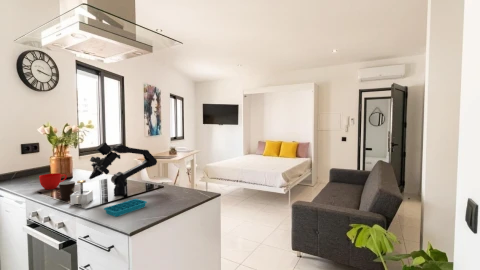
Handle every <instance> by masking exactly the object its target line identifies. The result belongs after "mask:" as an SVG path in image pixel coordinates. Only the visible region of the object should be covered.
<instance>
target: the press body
mask: <svg viewBox="0 0 480 270" xmlns="http://www.w3.org/2000/svg"><path fill="white" fill-rule="evenodd" d="M87 191H90V192H88V193H87V194H77V195H74V194H76V193H77V192H81V190H76V191H74V193H73V194H71V195H70V199H69V200H70V206H75V205H74V204H81V205H88V204H89V203H91V202H92V201H93V199H94V191H93V189H91V190H88V189H87V190H83V192H87ZM90 201H91V202H90Z"/></svg>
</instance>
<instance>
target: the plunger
mask: <svg viewBox="0 0 480 270" xmlns="http://www.w3.org/2000/svg"><path fill="white" fill-rule="evenodd" d="M86 181H87V180H86V179H81V180H77V181H76V184H79V185H80V191H81V192H77V193H76V194H74V195H77V194H87V193H88V192H90V191H88V190H86V191H87V192H83V191H84V183H87V182H86Z"/></svg>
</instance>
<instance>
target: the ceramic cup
mask: <svg viewBox="0 0 480 270" xmlns="http://www.w3.org/2000/svg"><path fill="white" fill-rule="evenodd" d="M63 176H64V178H63V179H62V177H63ZM38 177H39V178H38V179H39V184H40V186H41V187H42V188H43V189H45V190H54V189H55V190H56V189H57V188H58V187H59V183H62V182H65V180H67V178H68V176H67V174H62V173H59V172H57V173H55V172H53V173H47V174H41V175H39V176H38Z"/></svg>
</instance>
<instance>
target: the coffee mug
mask: <svg viewBox="0 0 480 270" xmlns="http://www.w3.org/2000/svg"><path fill="white" fill-rule="evenodd" d="M58 187H59V192H60V198H61V200H63V199H65V200H70V195H71V194H73V193H75V187H76V181H74V180H73V181H71V180H69V181H62V182H60V183H59V185H58Z"/></svg>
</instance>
